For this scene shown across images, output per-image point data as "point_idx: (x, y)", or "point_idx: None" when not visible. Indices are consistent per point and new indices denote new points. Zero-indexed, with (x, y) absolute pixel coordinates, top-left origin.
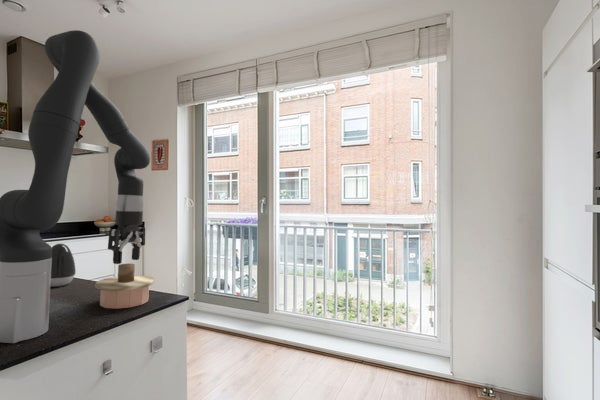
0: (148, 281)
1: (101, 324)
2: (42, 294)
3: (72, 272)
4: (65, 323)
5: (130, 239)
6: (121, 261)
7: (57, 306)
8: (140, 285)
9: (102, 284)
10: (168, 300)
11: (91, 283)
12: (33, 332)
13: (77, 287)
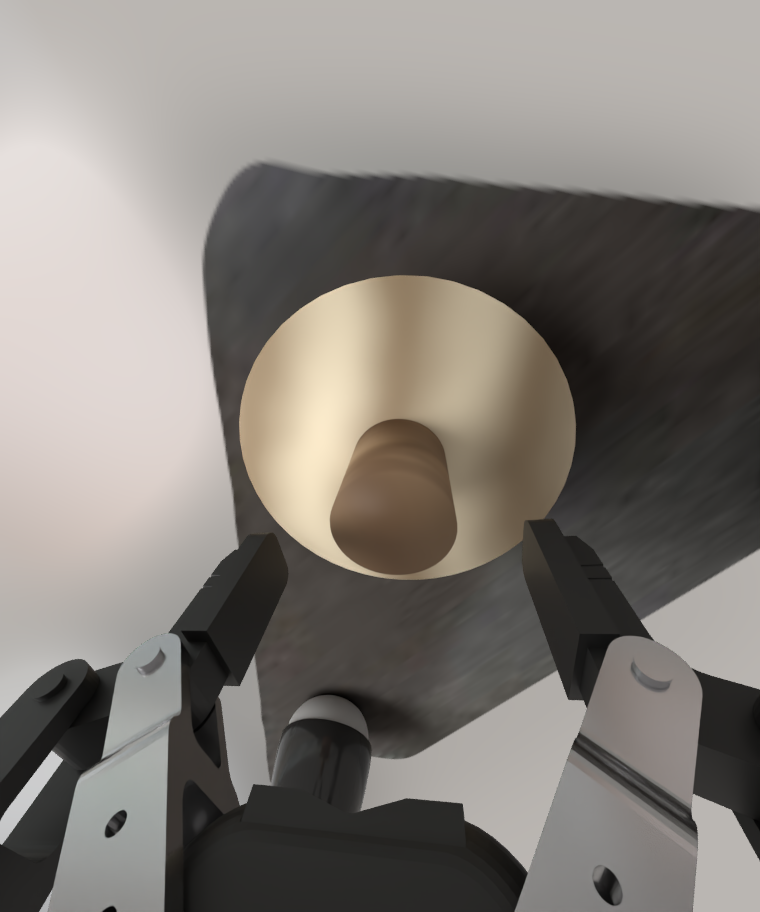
0: (354, 310)
1: (749, 249)
2: None
3: (306, 731)
4: (720, 418)
5: (365, 897)
6: (534, 528)
7: (521, 579)
8: (464, 286)
9: (517, 511)
10: (295, 211)
11: (273, 658)
12: None
13: (327, 660)
